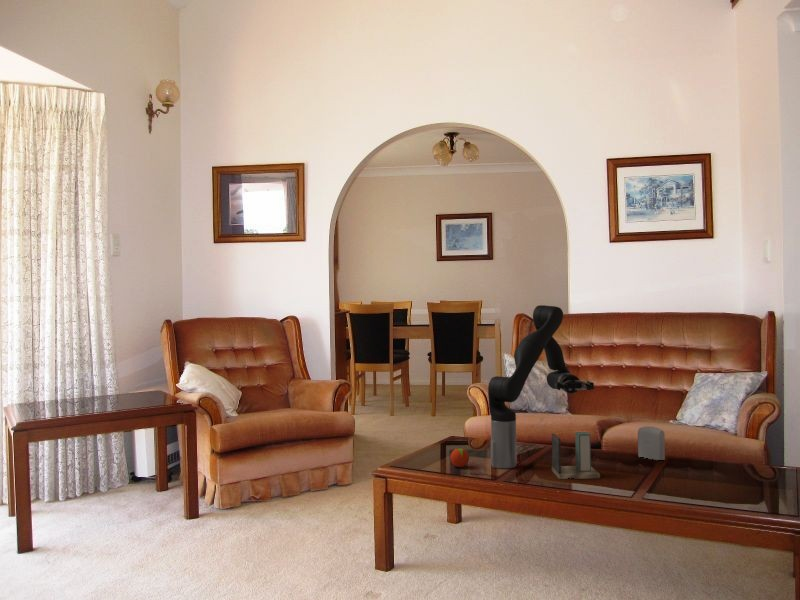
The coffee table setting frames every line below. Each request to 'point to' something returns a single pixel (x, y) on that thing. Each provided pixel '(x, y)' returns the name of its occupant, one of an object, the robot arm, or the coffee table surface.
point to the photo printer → (651, 443)
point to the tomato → (459, 457)
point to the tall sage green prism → (583, 451)
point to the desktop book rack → (567, 471)
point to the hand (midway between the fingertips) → (579, 387)
